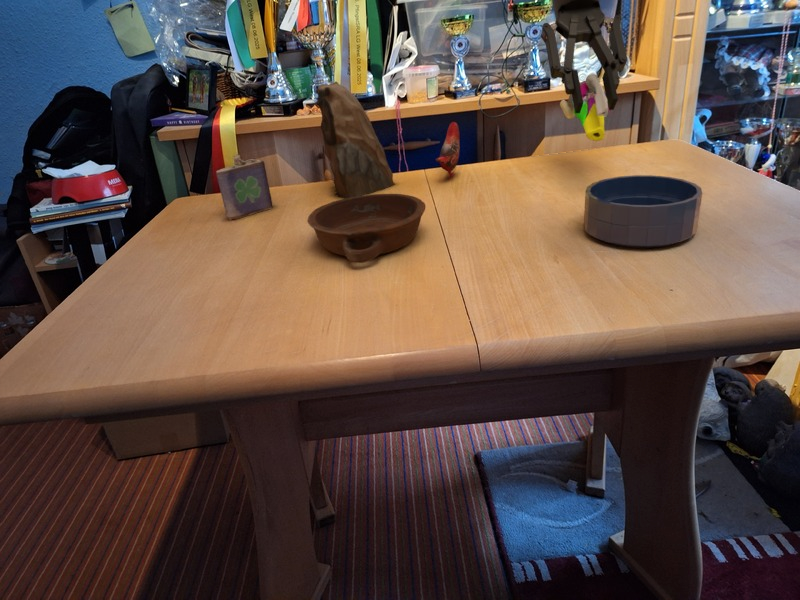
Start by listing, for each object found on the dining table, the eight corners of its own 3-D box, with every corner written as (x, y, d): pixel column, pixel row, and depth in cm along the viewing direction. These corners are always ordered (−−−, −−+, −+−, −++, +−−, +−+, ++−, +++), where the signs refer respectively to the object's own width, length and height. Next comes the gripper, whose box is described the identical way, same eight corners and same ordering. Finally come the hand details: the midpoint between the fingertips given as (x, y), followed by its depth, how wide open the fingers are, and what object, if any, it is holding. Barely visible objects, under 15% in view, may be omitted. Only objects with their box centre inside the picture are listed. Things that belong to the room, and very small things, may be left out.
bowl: (651, 209, 85) (655, 170, 82) (720, 239, 72) (728, 194, 70) (565, 225, 82) (566, 185, 80) (621, 259, 70) (625, 213, 67)
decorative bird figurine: (465, 168, 118) (462, 119, 113) (445, 193, 103) (442, 138, 99) (452, 168, 119) (449, 120, 114) (430, 193, 104) (426, 138, 100)
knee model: (582, 171, 89) (567, 122, 109) (634, 148, 86) (609, 101, 106) (560, 121, 85) (549, 79, 105) (613, 95, 82) (591, 56, 102)
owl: (347, 201, 105) (330, 88, 96) (309, 192, 113) (290, 88, 104) (397, 184, 112) (385, 77, 103) (357, 177, 120) (344, 78, 111)
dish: (424, 212, 94) (421, 183, 92) (432, 264, 74) (429, 228, 72) (321, 223, 95) (316, 194, 93) (303, 276, 75) (296, 242, 73)
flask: (230, 221, 101) (215, 161, 96) (223, 218, 103) (209, 160, 98) (275, 207, 106) (264, 150, 101) (268, 205, 108) (256, 149, 103)
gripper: (619, 7, 102) (644, 115, 95) (521, 18, 103) (538, 125, 96) (632, -29, 95) (660, 85, 88) (526, -16, 96) (544, 97, 89)
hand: (596, 106), depth 92 cm, fingers closed on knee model, 5 cm apart
